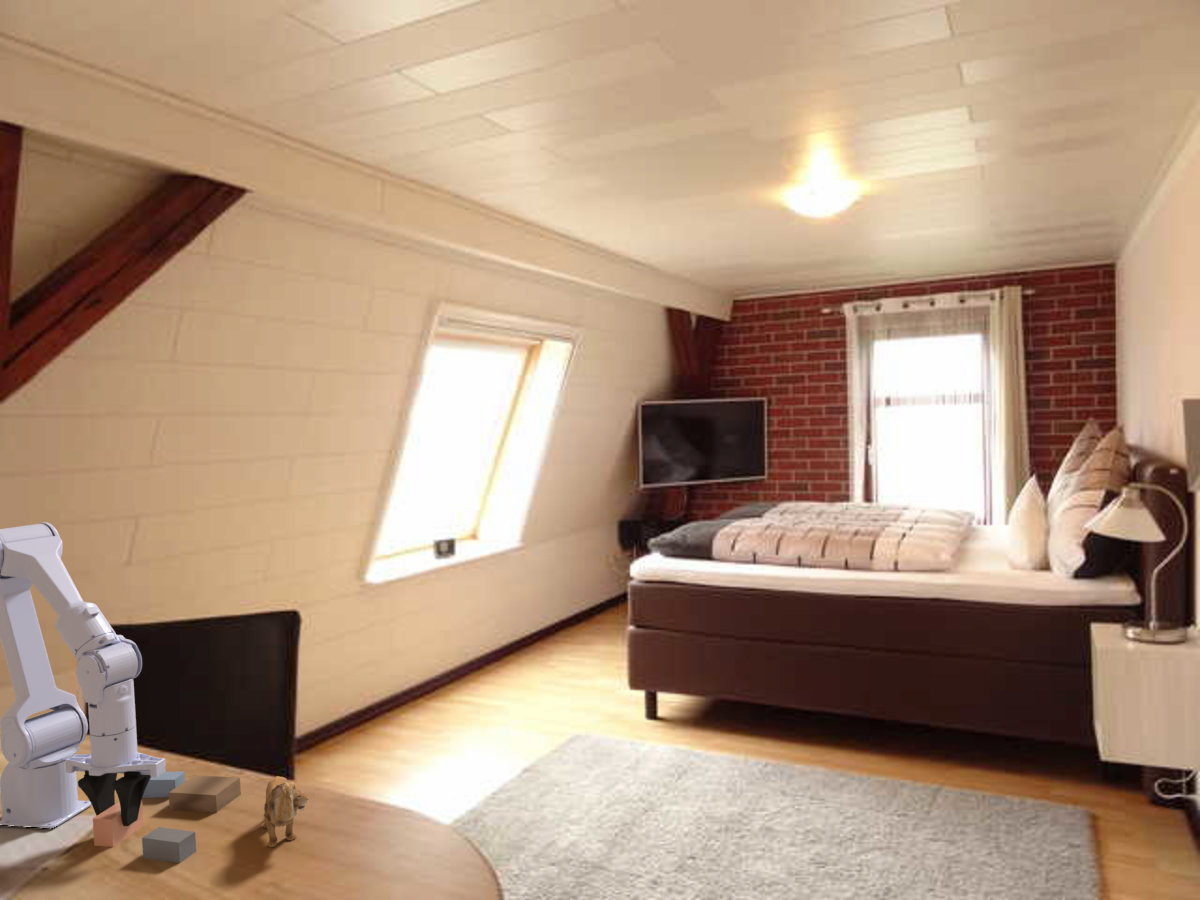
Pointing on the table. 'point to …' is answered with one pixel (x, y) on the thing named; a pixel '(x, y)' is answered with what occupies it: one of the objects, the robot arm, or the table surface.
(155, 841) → the gray brick
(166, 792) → the slate-blue brick
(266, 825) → the lion figurine
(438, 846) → the table surface
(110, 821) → the terracotta brick
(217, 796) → the walnut block
